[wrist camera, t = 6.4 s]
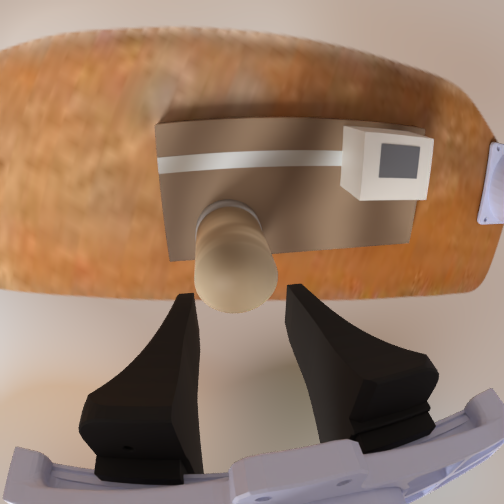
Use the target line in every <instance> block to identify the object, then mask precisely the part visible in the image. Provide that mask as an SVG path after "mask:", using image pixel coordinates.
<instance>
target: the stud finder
mask: <svg viewBox="0 0 504 504" xmlns="http://www.w3.org/2000/svg"><path fill="white" fill-rule="evenodd" d="M433 144H434V139H432V138H429V137H426V136H422V135H419V134H416V133H412V132H408V131H401V130H392V129H382V128H371V127H358V126H343V147H342V165H341V180H340V186H341V187H342V188H344V189H345V190H346V191H348V192H349V193H350V194H352V195H353V196H354V197H356V198H357V199H358V200H359V201H368V200H426V197H427V191H428V185H429V178H430V170H431V162H432V154H433Z"/></svg>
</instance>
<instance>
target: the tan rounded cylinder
mask: <svg viewBox="0 0 504 504" xmlns="http://www.w3.org/2000/svg"><path fill="white" fill-rule="evenodd" d="M195 240H196V251H195V277H194V281H195V288H196V291H197V293H198V295H199V297H200V298H201V299H202V300H203V301H204V302H205V303H206V304H207V305H208V306H210V307H211V308H213V309H215V310H218V311H221V312H225V313H243V312H247V311H250V310H253V309H255V308H257V307H259V306H260V305H262V304H263V303H264V302H266V301H267V300H268V299H269V298H270V296H271V295H272V293H273V292H274V290H275V288H276V285H277V281H278V271H277V267H276V264H275V262H274V259H273V257H272V254H271V252H270V249H269V247H268V244H267V242H266V239H265V237H264V234H263V232H262V227H261V225H260V222H259V220H258V217H257V215H256V214H255V212H254V211H253V210H252V209H251V208H250V207H249V206H248V205H247V204H245V203H243V202H241V201H238V200H232V199H225V200H220V201H217V202H214V203H212V204H210V205H209V206H208V207H206V208H205V209H204V210H203V211H202V213H201V214H200V216H199V218H198V220H197V224H196V234H195Z"/></svg>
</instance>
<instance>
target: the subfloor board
mask: <svg viewBox="0 0 504 504" xmlns="http://www.w3.org/2000/svg"><path fill="white" fill-rule="evenodd" d="M343 126H358V127H371V128H382V129H392V130H401V131H408V132H412V133H416V134H419V135H422V136H425V129H423V128H419V127H415V126H407V125H400V124H391V123H382V122H373V121H362V120H349V119H333V118H312V117H237V118H215V119H200V120H187V121H176V122H166V123H157V124H156V125H155V137H156V149H157V161H158V171H159V181H160V190H161V199H162V207H163V215H164V223H165V231H166V238H167V245H168V252H169V258H170V262H172V261H185V260H195V251H196V240H195V234H196V224H197V220H198V218H199V216H200V214H201V213H202V211H203V210H204V209H205V208H206V207H208V206H209V205H210V204H212V203H214V202H217V201H220V200H225V199H232V200H238V201H241V202H243V203H245V204H247V205H248V206H249V207H250V208H251V209H252V210H253V211H254V212H255V214H256V215H257V217H258V220H259V222H260V225H261V227H262V232H263V234H264V237H265V239H266V242H267V244H268V247H269V249H270V252H271V254H277V253H289V252H302V251H315V250H328V249H340V248H353V247H365V246H378V245H390V244H403V243H409V240H410V235H411V230H412V225H413V220H414V214H415V208H416V203H417V200H368V201H359V200H358V199H357V198H356V197H354V196H353V195H352V194H350V193H349V192H348V191H346V190H345V189H344V188H342V187H341V186H340V180H341V165H342V147H343Z"/></svg>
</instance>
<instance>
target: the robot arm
mask: <svg viewBox="0 0 504 504" xmlns="http://www.w3.org/2000/svg"><path fill="white" fill-rule="evenodd" d="M477 222H478V223H479V224H503V223H504V144H501V143H497V142H492V143H491V144H490V151H489V158H488V165H487V171H486V178H485V183H484V189H483V194H482V199H481V204H480V208H479V213H478V217H477ZM285 325H286V329H287V333H288V337H289V341H290V344H291V347H292V349H293V352H294V355H295V357H296V360H297V362H298V364H299V367H300V369H301V372H302V375H303V377H304V380H305V383H306V386H307V389H308V392H309V396H310V400H311V404H312V408H313V412H314V416H315V420H316V424H317V430H318V434H319V439H320V444H316V445H311V446H306V447H301V448H295V449H289V450H283V451H277V452H270V453H263V454H258V455H253V456H249V457H245V458H243V459H241V460H238V461H236V462H234V463H233V464H232V465H231V467H230V469H229V471H228V472H227V473H212V474H204V472H203V463H202V453H201V444H200V432H199V419H198V403H197V392H198V376H199V360H200V341H199V340H200V338H199V326H198V320H197V314H196V306H195V299H194V293H186V294H179V295H178V296H177V297H176V300H175V302H174V304H173V306H172V308H171V310H170V311H169V313H168V315H167V317H166V318H165V320H164V322H163V323H162V325H161V326H160V328H159V329H158V331H157V332H156V334H155V335H154V337H153V338H152V339H151V341H150V342H149V343H148V345H147V346H146V347H145V348H144V349H143V351H142V352H141V353H140V354H139V355H138V356H137V357H136V358H135V359H134V360H133V361H132V362H131V363H130V364H129V365H128V366H127V367H126V368H125V369H124V370H123V371H122V372H120V373H119V374H118V375H117V376H115V377H114V378H113V379H112V380H110V381H109V382H107V383H106V384H105V385H103V386H102V387H100V388H98V389H97V390H95V391H94V392H92V393H90V394H89V395H88V397H87V400H86V402H85V404H84V407H83V411H82V415H81V419H80V423H79V433H80V435H81V436H82V438H83V440H84V441H85V442H86V443H87V444H88V446H89V447H90V448H91V449H92V450H93V451H94V453H95V454H96V455H97V456H96V463H95V470H94V469H86V468H79V467H73V466H67V465H62V464H56V463H52V462H51V460H50V459H49V458H48V457H47V456H45V455H44V454H42V453H40V452H38V451H34V450H30V449H25V448H21V447H15V450H14V454H13V457H12V461H11V464H10V468H9V473H8V476H7V481H6V485H5V489H4V494H3V499H4V500H5V501H6V502H8V503H9V504H409V503H411V502H413V501H415V500H417V499H419V498H421V497H423V496H425V495H427V494H429V493H431V492H432V491H435V490H437V489H438V488H440V487H442V486H444V485H445V484H447V483H449V482H451V481H452V480H454V479H456V478H457V477H459V476H461V475H462V474H464V473H466V472H467V471H469V470H471V469H472V468H474V467H476V466H477V465H479V464H480V463H482V462H483V461H485V460H487V459H488V458H489V457H490V456H492V455H493V454H494V453H495V452H496V451H497V450H498V449H499V448H500V447H501V446H502V445H503V444H504V404H503V402H502V401H501V400H500V398H499V397H498V395H497V394H496V393H495V391H494V390H493V388H490V389H488V390H486V391H484V392H482V393H480V394H478V395H476V396H475V397H473V398H472V399H471V400H470V401H469V402H468V403H467V405H466V406H465V408H464V410H462V411H460V412H457V413H455V414H453V415H451V416H449V417H446V418H444V419H442V420H439V421H437V422H435V423H434V421H433V420H432V418H431V416H430V414H429V413H428V411H429V410H430V406H429V404H428V402H427V400H428V398H429V397H430V395H431V393H432V391H433V390H434V388H435V386H436V384H437V382H438V379H439V373H438V372H437V369H436V368H435V366H434V365H433V363H432V362H431V361H430V359H429V358H428V356H427V355H426V354H422V353H418V352H414V351H410V350H407V349H403V348H400V347H398V346H395V345H392V344H389V343H387V342H385V341H382V340H380V339H378V338H376V337H374V336H371V335H370V334H368V333H366V332H364V331H362V330H360V329H359V328H357V327H355V326H354V325H352V324H351V323H349V322H348V321H346V320H345V319H343V318H342V317H340V316H339V315H338V314H336V313H335V312H334V311H332V310H331V309H330V308H329V307H327V306H326V305H325V304H324V303H323V302H321V301H320V300H319V299H318V298H317V297H316V296H314V295H313V294H312V293H311V292H310V291H309V290H308V289H307V288H306V287H304V286H303V285H302V284H292V285H287V296H286V314H285Z"/></svg>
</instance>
